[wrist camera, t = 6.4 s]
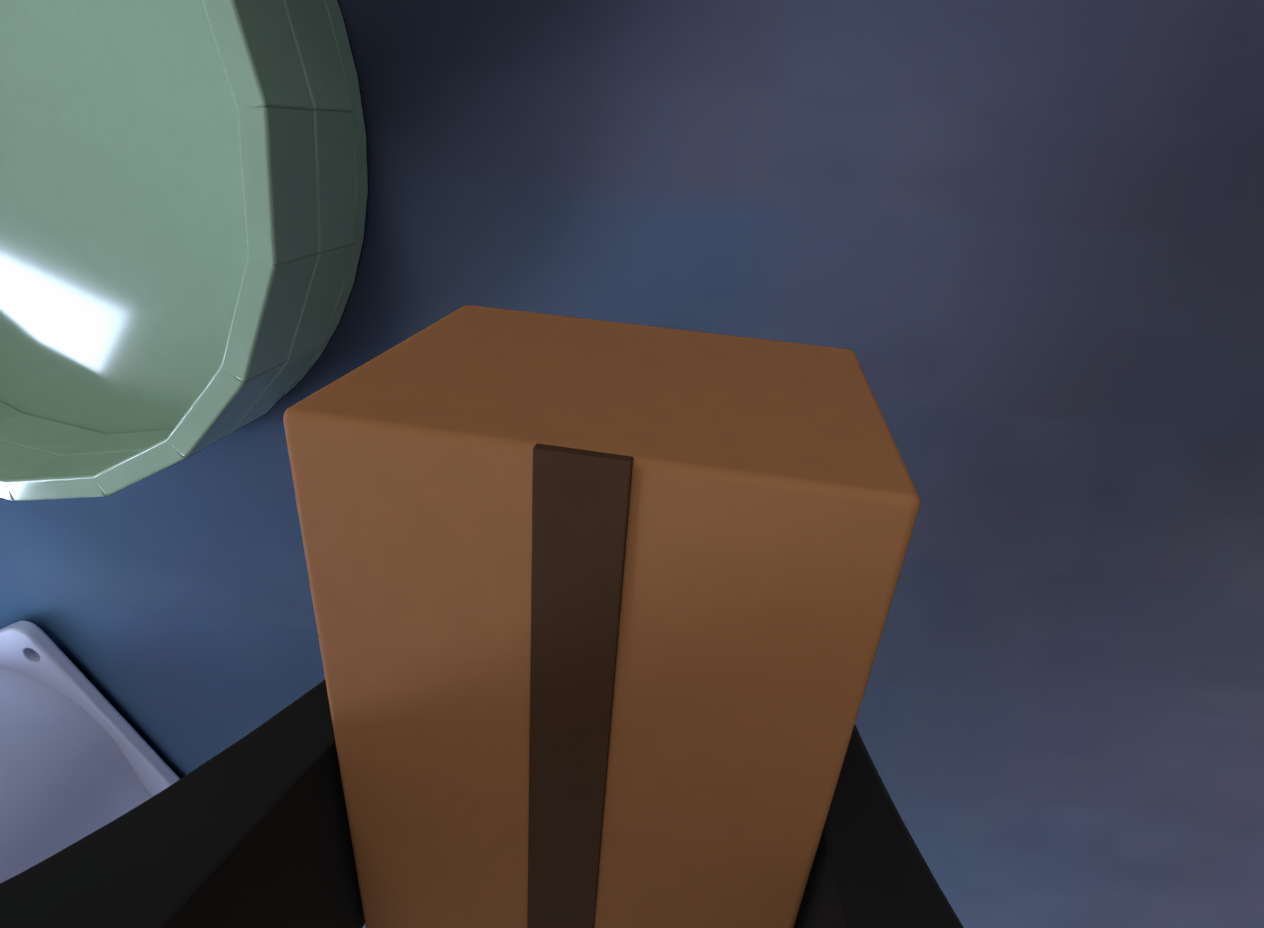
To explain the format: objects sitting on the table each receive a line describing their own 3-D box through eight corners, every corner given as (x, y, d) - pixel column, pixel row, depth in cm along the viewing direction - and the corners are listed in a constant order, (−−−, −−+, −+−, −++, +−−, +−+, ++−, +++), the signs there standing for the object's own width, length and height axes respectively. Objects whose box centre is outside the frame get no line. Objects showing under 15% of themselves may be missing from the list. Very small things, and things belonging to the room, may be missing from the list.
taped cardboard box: (732, 896, 12) (723, 1175, 9) (482, 844, 13) (387, 1090, 9) (855, 348, 8) (927, 502, 4) (463, 302, 8) (271, 412, 5)
